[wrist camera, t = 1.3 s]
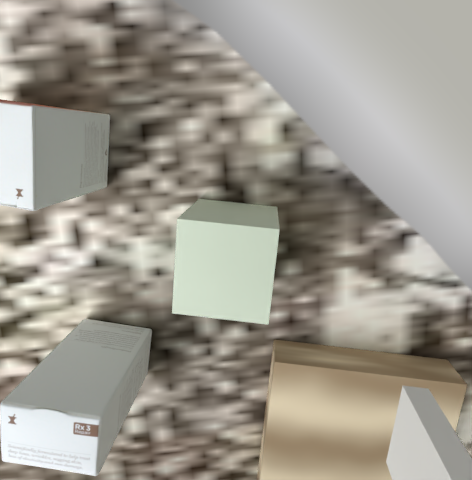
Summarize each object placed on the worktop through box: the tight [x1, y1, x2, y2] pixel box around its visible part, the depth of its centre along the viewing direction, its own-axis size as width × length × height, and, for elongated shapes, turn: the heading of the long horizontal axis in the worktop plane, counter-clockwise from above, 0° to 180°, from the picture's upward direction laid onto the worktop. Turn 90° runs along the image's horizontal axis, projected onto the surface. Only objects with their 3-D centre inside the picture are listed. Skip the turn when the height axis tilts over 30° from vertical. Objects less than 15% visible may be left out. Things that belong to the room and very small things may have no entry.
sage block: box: [172, 199, 280, 324], centre depth 29 cm, size 6×6×8 cm
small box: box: [0, 100, 110, 211], centre depth 27 cm, size 8×6×10 cm
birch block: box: [257, 339, 467, 480], centre depth 35 cm, size 14×14×4 cm
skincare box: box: [0, 319, 152, 476], centre depth 30 cm, size 6×4×12 cm
